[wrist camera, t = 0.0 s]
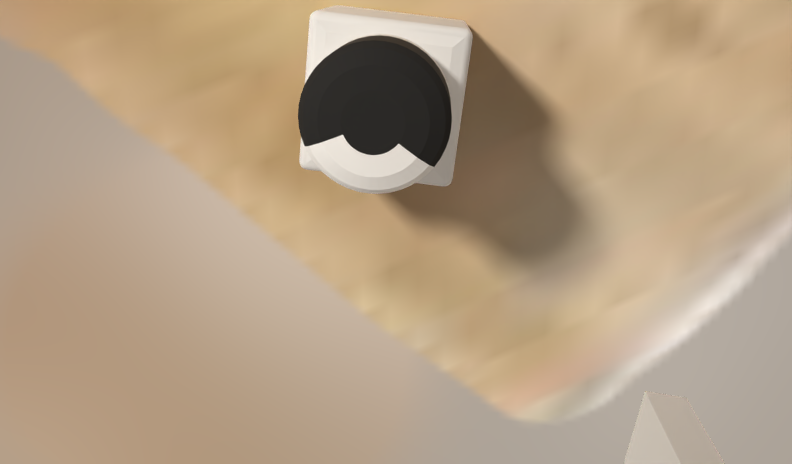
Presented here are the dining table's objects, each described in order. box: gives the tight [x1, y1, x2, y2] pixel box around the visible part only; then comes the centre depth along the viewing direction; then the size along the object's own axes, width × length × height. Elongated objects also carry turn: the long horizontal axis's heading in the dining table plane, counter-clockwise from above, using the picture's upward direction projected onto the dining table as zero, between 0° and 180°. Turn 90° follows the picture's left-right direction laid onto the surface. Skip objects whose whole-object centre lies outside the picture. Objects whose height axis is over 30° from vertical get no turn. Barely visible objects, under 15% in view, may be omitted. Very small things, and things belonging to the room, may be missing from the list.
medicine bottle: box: [298, 5, 473, 194], centre depth 34 cm, size 7×7×12 cm
